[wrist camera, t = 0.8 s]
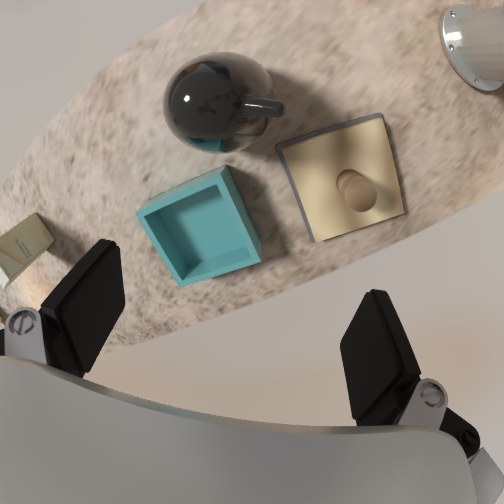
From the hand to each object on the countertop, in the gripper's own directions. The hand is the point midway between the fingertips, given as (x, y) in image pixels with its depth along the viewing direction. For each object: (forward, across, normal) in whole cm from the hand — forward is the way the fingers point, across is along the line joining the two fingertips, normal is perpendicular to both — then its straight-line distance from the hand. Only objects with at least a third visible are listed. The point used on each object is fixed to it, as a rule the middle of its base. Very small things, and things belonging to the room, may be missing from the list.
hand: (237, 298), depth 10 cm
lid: (+24, -10, 0) cm, 26 cm away
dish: (+24, +6, +9) cm, 27 cm away
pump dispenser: (+25, +4, -6) cm, 26 cm away
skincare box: (+24, +34, +16) cm, 45 cm away
